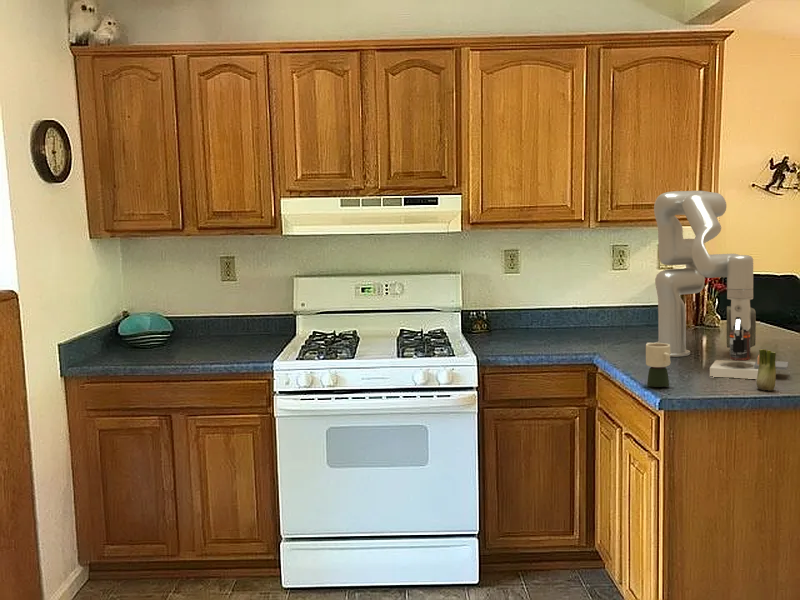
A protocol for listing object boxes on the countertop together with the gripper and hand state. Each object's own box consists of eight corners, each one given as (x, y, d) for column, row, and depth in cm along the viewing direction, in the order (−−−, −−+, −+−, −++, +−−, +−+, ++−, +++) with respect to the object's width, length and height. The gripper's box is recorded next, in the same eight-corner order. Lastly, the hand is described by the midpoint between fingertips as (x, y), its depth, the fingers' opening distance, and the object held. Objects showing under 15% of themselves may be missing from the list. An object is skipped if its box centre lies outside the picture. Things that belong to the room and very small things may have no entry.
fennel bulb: (778, 392, 214) (778, 351, 213) (759, 392, 215) (760, 351, 214) (771, 388, 220) (772, 347, 218) (753, 388, 220) (754, 347, 219)
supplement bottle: (744, 357, 241) (744, 322, 240) (753, 360, 235) (754, 325, 234) (726, 358, 241) (726, 323, 240) (735, 361, 235) (735, 326, 234)
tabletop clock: (726, 352, 277) (726, 285, 274) (753, 352, 274) (753, 285, 271) (727, 359, 264) (727, 289, 261) (755, 360, 260) (756, 288, 258)
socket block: (709, 377, 237) (709, 367, 237) (715, 368, 249) (715, 360, 249) (765, 380, 229) (765, 371, 228) (769, 372, 241) (769, 362, 241)
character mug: (679, 389, 222) (679, 346, 221) (658, 391, 220) (658, 348, 219) (657, 382, 233) (657, 341, 231) (637, 384, 231) (637, 343, 230)
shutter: (754, 367, 232) (754, 357, 232) (756, 362, 240) (756, 352, 240) (786, 369, 228) (786, 359, 227) (788, 364, 236) (788, 354, 235)
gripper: (750, 297, 227) (750, 355, 229) (755, 291, 242) (755, 346, 244) (723, 297, 231) (723, 354, 232) (730, 291, 246) (730, 345, 247)
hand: (739, 350), depth 238 cm, fingers closed on supplement bottle, 6 cm apart
